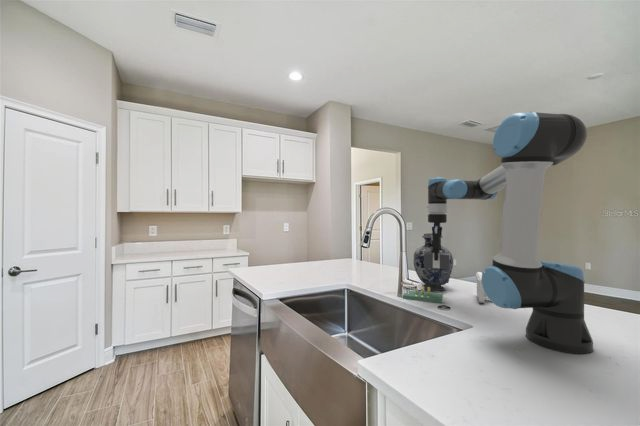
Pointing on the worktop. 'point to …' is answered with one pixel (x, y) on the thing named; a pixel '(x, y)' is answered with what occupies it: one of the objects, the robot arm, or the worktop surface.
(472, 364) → the worktop surface
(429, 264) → the plug housing
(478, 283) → the cable organizer
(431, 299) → the header board
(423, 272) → the decorative vase
